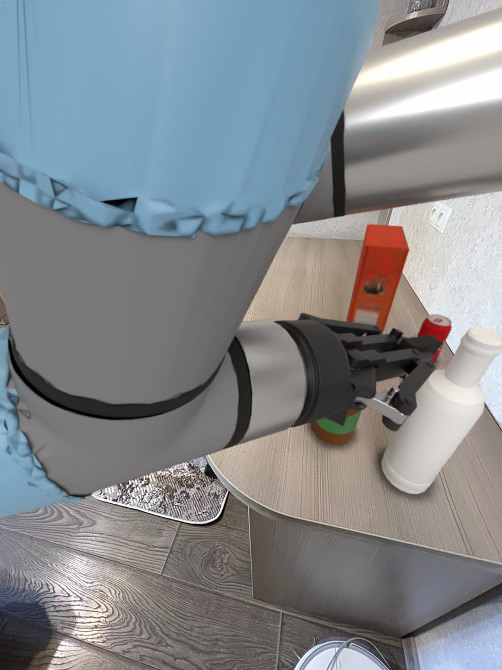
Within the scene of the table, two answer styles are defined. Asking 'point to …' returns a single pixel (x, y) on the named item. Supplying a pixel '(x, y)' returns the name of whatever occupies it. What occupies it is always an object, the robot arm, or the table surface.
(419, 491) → the bottle
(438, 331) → the beverage can
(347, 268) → the table surface
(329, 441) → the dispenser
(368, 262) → the file binder
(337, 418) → the dark rectangular block
